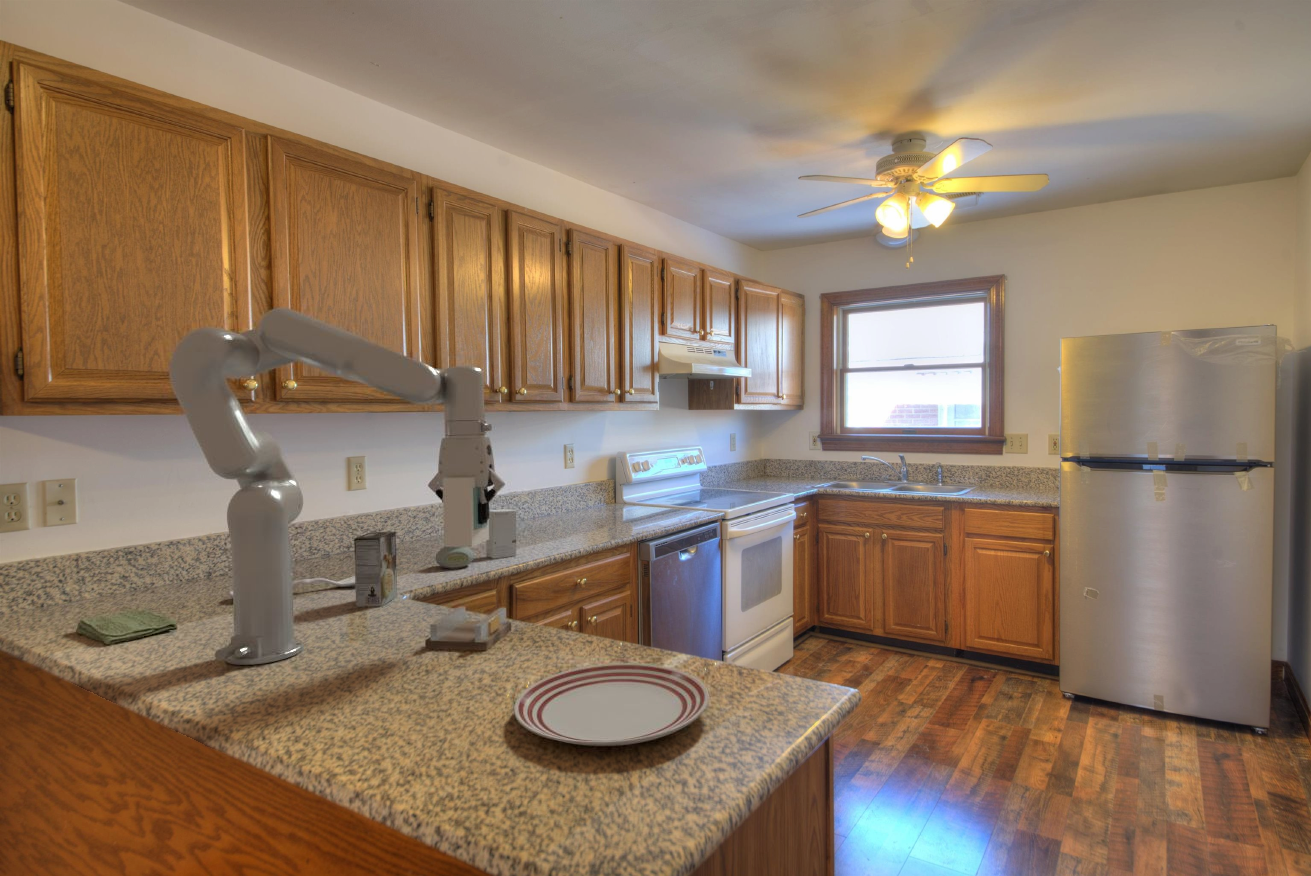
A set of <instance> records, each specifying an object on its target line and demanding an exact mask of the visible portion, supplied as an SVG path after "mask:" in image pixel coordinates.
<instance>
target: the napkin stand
mask: <svg viewBox="0 0 1311 876" xmlns="http://www.w3.org/2000/svg"><path fill="white" fill-rule="evenodd" d="M480 622H481V621H474V620H473V621H472V620H469V621H468V620H466V621H465V622H464V623H462V624H461V625H459V626H458V627H456V628H455V629H453V630H452V631H450V632H449V633H447V634H446V635H444V636H443V637H441V638H440V639H438V640H437V641H431V636H430V637H428V638H426V639H425V642H424V643H425V644H424V646H425V647H424V648H425V649H432V648H433V650H438V649H439V650H458V651H459V650H461V651H462V650H463V651H464V650H465V651H486V652H487V651H489V650H490V648H491V647H492V646H494V645H495V644H496V643H498V642H499V641H500V640H501V639H502V638H503V637H505V636H506V635H507V634H509V633H510V632H511V631H512V622H509V621H508V622H507V621H506V623H505V624H504V625H502V626H501V627H500V628H499V629H497V630H496V631H495V632H494V633H492V634H491V635H490V636H488V637H487V638H486V639H485V640H483V641H482V642H475V625H477V624H478V623H480Z"/></svg>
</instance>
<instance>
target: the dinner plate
mask: <svg viewBox="0 0 1311 876" xmlns="http://www.w3.org/2000/svg"><path fill="white" fill-rule="evenodd" d="M709 703H710V694H709V691H708V688H707V686H706V685H705V684H704V683H702V681H701V680H699V679H698V678H696V677H694V676H693V675H691V674H689V673H686V672H684V671H682V670H679V669H675V668H671V667H667V666H662V665H656V664H649V663H636V662H635V663H634V662H630V663H629V662H627V663H626V662H623V663H618V662H617V663H605V664H603V663H602V664H595V665H588V666H582V667H577V668H573V669H569V670H566V671H561V672H557V673H555V674H552V675H550V676H548V677H545V678H543V679H540V680H538V681H537V682H535V683H533V684H531V685H530V686H529V687H528V688H527V687H526V688H525V690H523V691H522V692H521V694H519V696H518V697H517V699H516V701H515V703H514V705H513V712H514V716H515V719H516V721H517V722H518V723H519V724H520V725H521V726H522V727H523V728H525V729H526V730H528V731H529V732H531V733H533V734H535V735H537V736H540V737H543V738H546V739H551V740H553V741H554V740H555V741H558V742H562V743H566V744H571V745H572V744H573V745H578V746H579V745H581V746H591V747H593V746H594V747H615V746H625V745H626V746H627V745H633V744H640V743H645V742H649V741H653V740H657V739H659V738H663V737H666V736H669V735H671V734H674V733H675V732H678V731H680V730H682V729H684V728H685V727H687V726H689V725H691V724H692V723H693V722H694V721H696V720H697V719H698V718H700V716H701V715H702V714H704V712H705V711H706V709H707V707H708V705H709Z"/></svg>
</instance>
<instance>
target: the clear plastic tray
mask: <svg viewBox="0 0 1311 876" xmlns="http://www.w3.org/2000/svg"><path fill="white" fill-rule="evenodd" d="M465 621H467V620H466V606H458V607H456V608H455V609H453V610H452V611H450V612H449V613H446V614H445V615H443V616H442V617H440V618H438V619H437V620H435V621H434V622H432V623H430V624H429V625H430V628H429V629H430V637H431V641H437V640H438V639H440V638H441V637H443V636H444V635H446V634H447V633H449V632H450V631H452V630H453V629H455V628H456V627H458V626H459V625H461V624H462V623H464V622H465ZM479 622H480V623H478V624H477V625H475V642H482V641H483V640H485V639H486V638H487V637H488V636H490V635H491V634H492V633H494V632H495V631H496V630H497V629H499V628H500V627H501V626H502V625H504V624H505V623H506V622H507V608H506V607H499V608H498V609H496V610H495V611H493V612H492V613H490V614H489V615H488V616H486V617H485V618H484V619H482V620H481V621H479Z"/></svg>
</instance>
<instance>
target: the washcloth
mask: <svg viewBox="0 0 1311 876" xmlns="http://www.w3.org/2000/svg"><path fill="white" fill-rule="evenodd" d="M169 630H172V631H175V630H178V625H177V622H176V620H174V619H173V618H171V617H170V616H166V615H163V614H159V613H158V614H157V613H155V612H154V611H152V610H151V611H150V610H148V609H142V610H141V609H138V610H134V611H133V610H132V611H128V612H119V613H118V614H117V613H116V614H113V615H106V616H96V617H90V618H84V619H81V620H79V622H78V623H77V627H76V629H75V632H76V633H77V634H78V635H82V636H84V637H85V636H87V638H89V639H91V638H92V639H91V640H94V641H99V642H100V641H101V643H104V644H105V645H108V644H113V643H117V642H120V641H125V642H127V641H126V640H129V641H131V640H130V639H133V640H136V639H137V638H138V639H142V638H145V637H144V636H146V637H148V636H149V635H150V636H152V634H153V635H156V634H155V633H158V634H161V632H162V633H166V632H165V631H167V632H170V631H169ZM141 637H142V638H141ZM138 639H137V640H138ZM117 644H118V643H117ZM113 645H114V644H113Z"/></svg>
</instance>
